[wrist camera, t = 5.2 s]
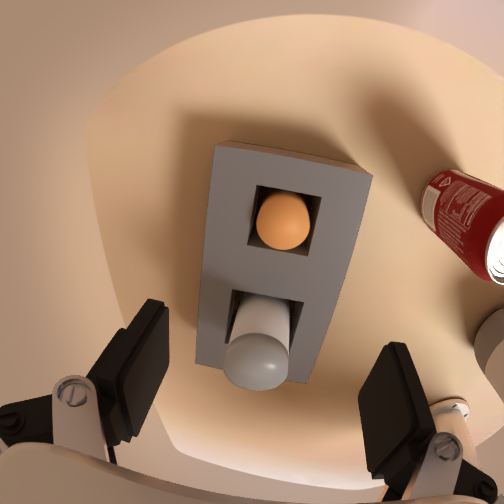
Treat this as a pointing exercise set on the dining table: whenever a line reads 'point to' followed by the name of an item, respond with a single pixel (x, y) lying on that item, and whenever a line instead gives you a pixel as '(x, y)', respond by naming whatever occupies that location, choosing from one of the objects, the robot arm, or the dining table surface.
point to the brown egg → (283, 219)
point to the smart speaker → (492, 350)
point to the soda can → (467, 220)
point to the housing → (275, 260)
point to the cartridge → (259, 343)
